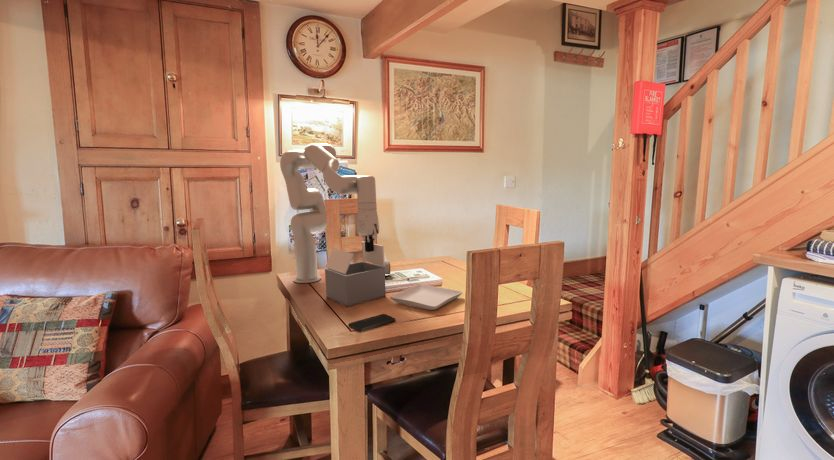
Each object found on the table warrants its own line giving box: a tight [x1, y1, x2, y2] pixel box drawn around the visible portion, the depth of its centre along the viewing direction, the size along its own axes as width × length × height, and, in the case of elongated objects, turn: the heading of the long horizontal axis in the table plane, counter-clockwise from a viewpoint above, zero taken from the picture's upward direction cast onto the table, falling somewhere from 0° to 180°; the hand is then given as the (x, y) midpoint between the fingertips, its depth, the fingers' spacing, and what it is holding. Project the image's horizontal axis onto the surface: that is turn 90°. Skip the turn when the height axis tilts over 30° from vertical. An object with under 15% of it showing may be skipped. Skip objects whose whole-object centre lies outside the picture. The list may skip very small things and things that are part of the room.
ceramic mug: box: [372, 260, 391, 275], centre depth 211 cm, size 11×8×8 cm
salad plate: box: [389, 284, 463, 311], centre depth 171 cm, size 21×21×3 cm
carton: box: [324, 260, 387, 308], centre depth 178 cm, size 16×18×12 cm
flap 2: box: [361, 240, 386, 266], centre depth 182 cm, size 15×8×1 cm
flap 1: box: [324, 248, 354, 274], centre depth 172 cm, size 15×8×1 cm
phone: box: [348, 313, 397, 333], centre depth 149 cm, size 8×1×15 cm
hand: (369, 251), depth 180 cm, fingers closed
